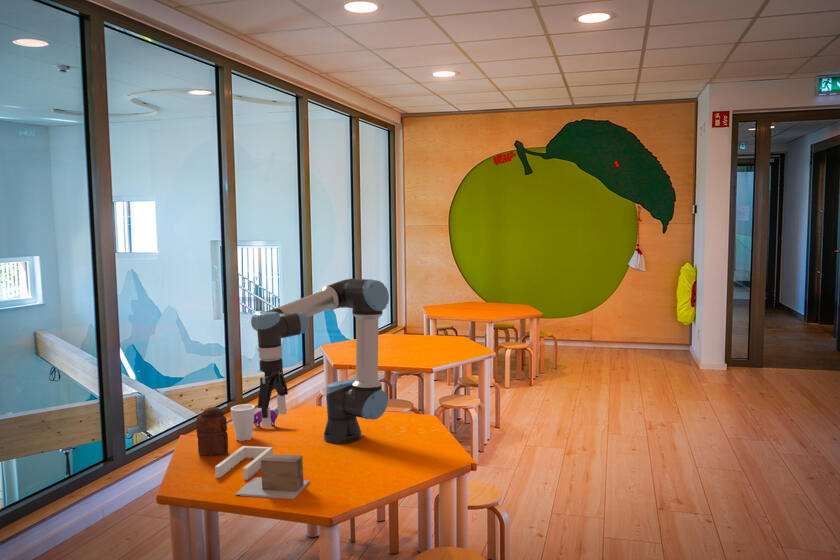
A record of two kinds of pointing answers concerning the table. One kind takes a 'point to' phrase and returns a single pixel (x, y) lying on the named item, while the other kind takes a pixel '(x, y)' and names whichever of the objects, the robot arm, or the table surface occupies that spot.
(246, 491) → the mat
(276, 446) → the table surface
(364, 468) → the table surface
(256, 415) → the toy dog
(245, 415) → the foam cup
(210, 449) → the wooden figurine
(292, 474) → the walnut block
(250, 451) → the bay
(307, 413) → the table surface
